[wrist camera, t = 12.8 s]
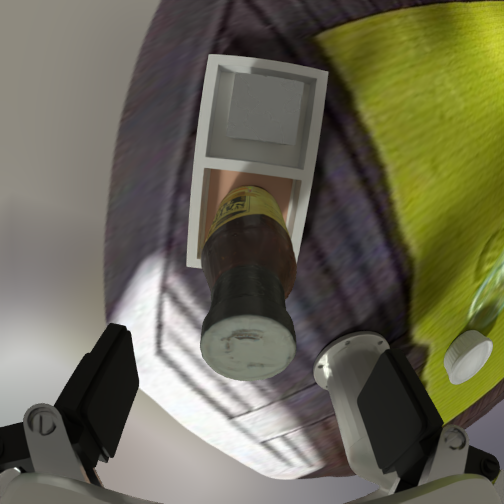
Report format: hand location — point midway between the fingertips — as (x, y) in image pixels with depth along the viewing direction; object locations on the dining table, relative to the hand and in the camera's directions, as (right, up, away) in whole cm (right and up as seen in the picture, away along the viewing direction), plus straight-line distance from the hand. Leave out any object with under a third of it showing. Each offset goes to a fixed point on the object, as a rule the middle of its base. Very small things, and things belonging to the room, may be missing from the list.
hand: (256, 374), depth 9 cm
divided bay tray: (0, +13, +19) cm, 23 cm away
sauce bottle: (-1, +8, +20) cm, 22 cm away
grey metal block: (+1, +18, +16) cm, 24 cm away
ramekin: (+41, -15, +32) cm, 54 cm away
